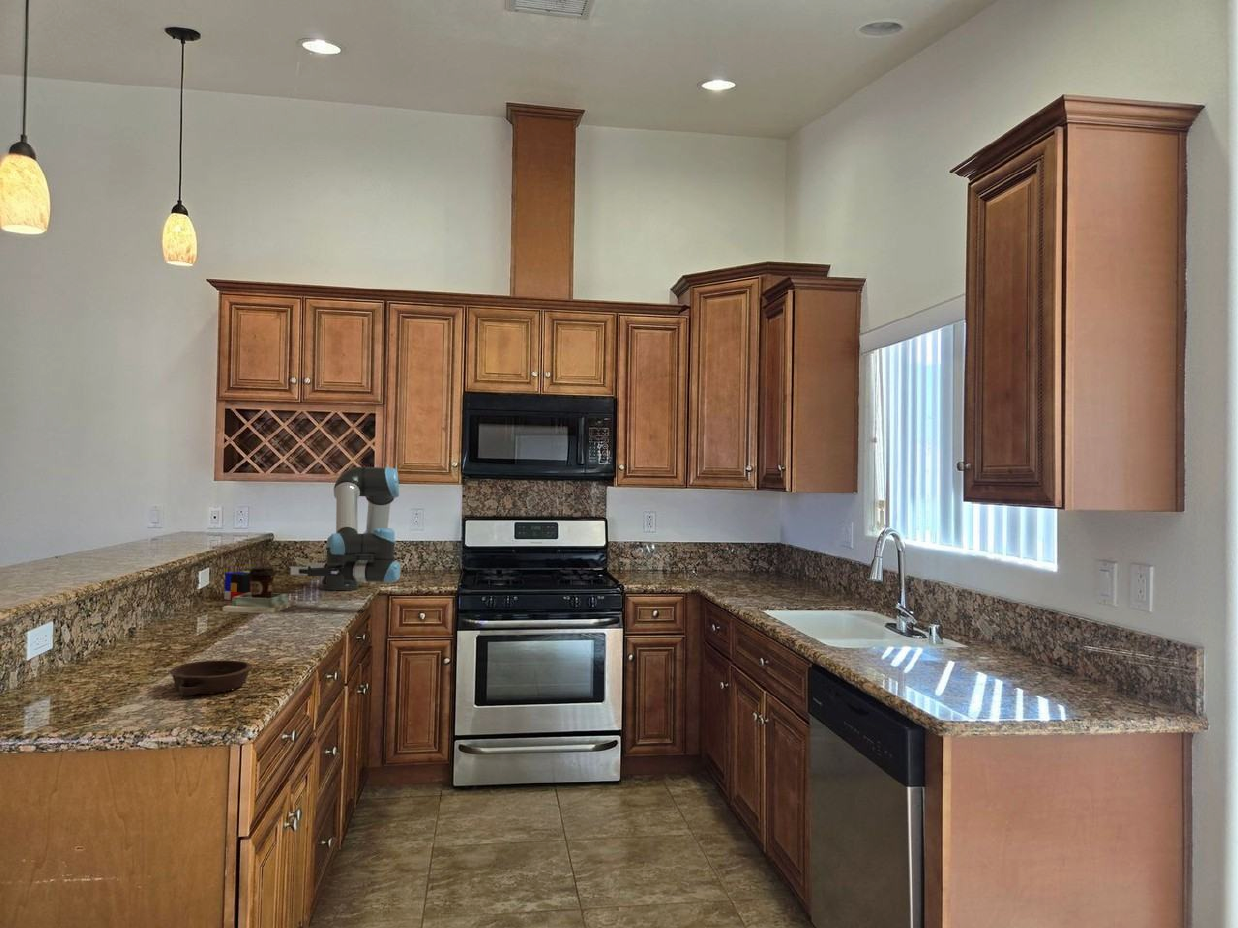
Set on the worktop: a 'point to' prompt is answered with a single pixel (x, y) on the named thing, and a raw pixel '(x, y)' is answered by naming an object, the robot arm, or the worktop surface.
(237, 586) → the puzzle toy
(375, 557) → the robot arm
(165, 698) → the worktop surface
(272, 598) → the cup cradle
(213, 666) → the dish
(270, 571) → the coffee cup
